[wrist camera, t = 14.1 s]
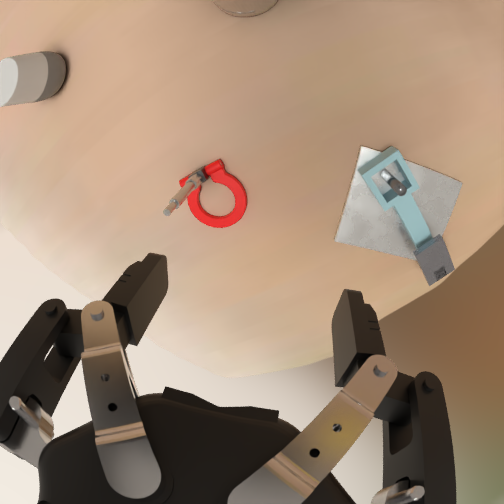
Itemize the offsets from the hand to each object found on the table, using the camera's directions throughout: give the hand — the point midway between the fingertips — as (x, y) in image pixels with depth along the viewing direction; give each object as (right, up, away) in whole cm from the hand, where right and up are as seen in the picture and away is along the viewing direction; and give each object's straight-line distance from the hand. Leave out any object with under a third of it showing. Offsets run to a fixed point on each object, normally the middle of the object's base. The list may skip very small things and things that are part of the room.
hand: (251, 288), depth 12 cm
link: (+23, +8, +25) cm, 35 cm away
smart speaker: (-36, +34, +21) cm, 53 cm away
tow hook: (-5, +10, +30) cm, 32 cm away
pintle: (+19, +13, +24) cm, 33 cm away
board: (+23, +8, +26) cm, 35 cm away
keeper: (+28, +3, +28) cm, 40 cm away
